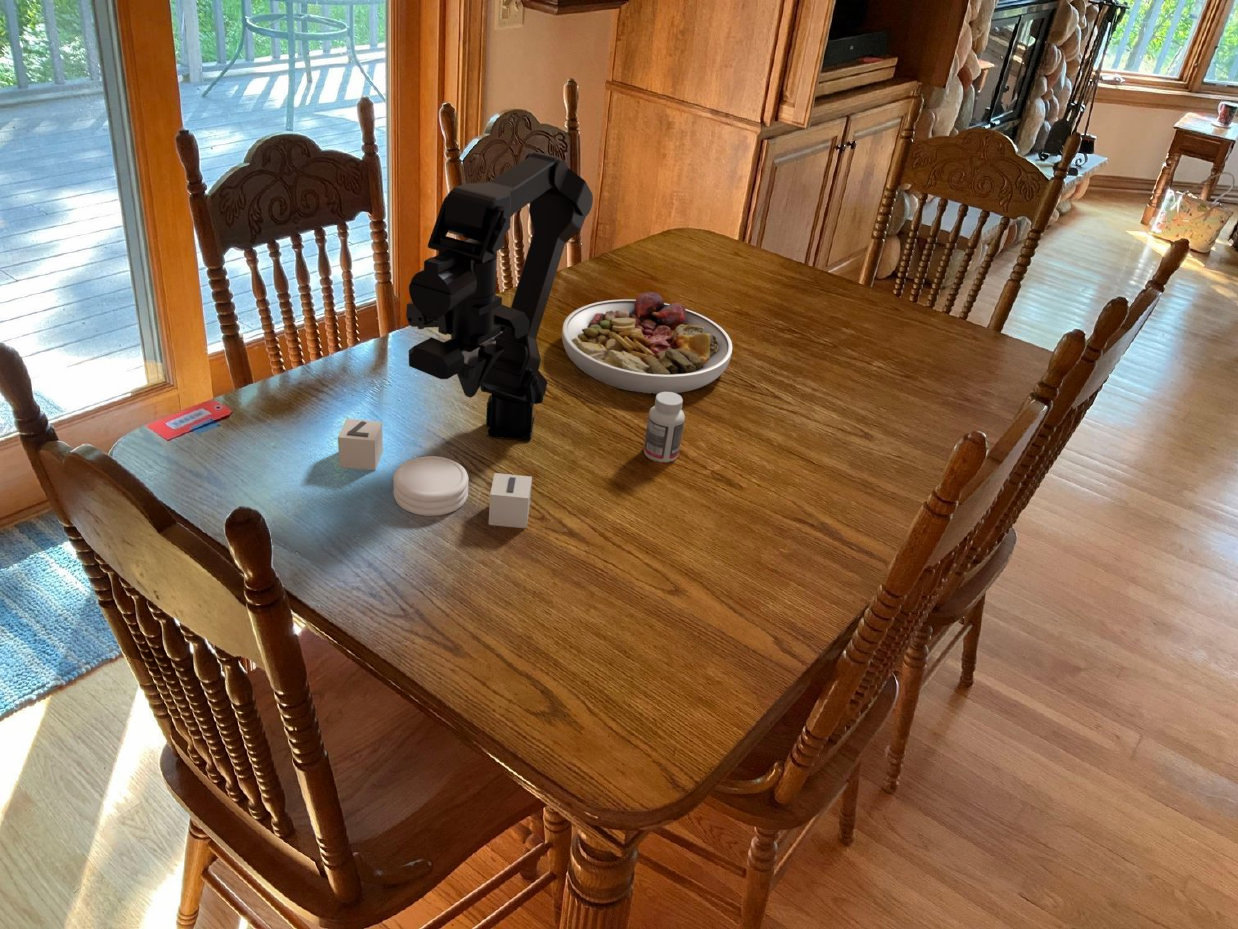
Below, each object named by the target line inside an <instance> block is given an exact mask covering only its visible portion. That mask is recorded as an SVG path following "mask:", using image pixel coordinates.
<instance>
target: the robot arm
mask: <svg viewBox="0 0 1238 929" xmlns="http://www.w3.org/2000/svg"><path fill="white" fill-rule="evenodd" d="M593 197H594V196H593V192H592V190H591V189H590V187H589V186H588V184H587V181H586V180H585V179H583V178H582V177H581V176H579V174H577V173H576V172H575V171H573V170H572V169H571V168H570V167H569V166H568V164H567V163H566V162H565V161H564V160H563V159H561V158H560V157H559V156H554V155H550V154H546V153H542V152H538V151H534V152H528V153H527V155H526V156H525V157H524V159H523V160H521V161H519V162H518V163H517V164H515V165H514V166H512V167H511V168H509V169H507V170H505V171H504V172H503V173H501V174H499V175H498V176H497V177H495V178H493V179H491V180H489V181H488V182H475V183H474V182H472V183H471V182H469V183H465V184H461V185H457V186H455V187H453V188H452V189H451V190H450V191H449V192H448V193H447V195H446V196H445V197H444V198H443V201H442V203H441V206H440V208H439V212H438V215H437V218H436V221H435V222H434V225H433V228H432V232H431V234H430V237H429V240H428V243H427V248H428V249H431V250H435V251H437V253H438V254H437V255H435V256H432V257H429V258H426V259H425V260H424V261H423V269H421V270H419V271H418V272H416V273H415V274H414V275H413V277H412V278H411V280H410V283H409V285H408V292H409V293H408V294H409V298H410V300H411V301H409V302H408V303H406V311H405V315H406V320H407V323H408V325H409V326H410V327H412V328H417V329H418V330H424V329H425V328H426V329H427V328H429V329H430V328H431V329H432V328H438V333H440V334H442V335H444V336H447V335H449V336H450V338H449V339H447V340H446V341H443V340H440V339H437V338H434V337H429V338H427V339H425V340H423V341H422V342H421V341H420V343H418V344H415V345H414V346H412V347H411V348H410V349H408V367H410V368H413V369H415V370H418V371H420V372H423V373H424V374H428V375H430V376H432V377H435V378H437V379H439V380H449V379H450V378H452V377H454V376H455V375H456V376H457V378H458V381H459V382H460V383H459V384H460V386H461V389H462V391H463V394H464V396H465V397H468V398H470V399H471V398H473V397H475V396H476V394H477V393H478V391H479V389H480V391H481V392H482V393H487V394H490V395H489V396H488V399H487V402H486V416H485V417H486V419H485V421H486V422H485V426H486V427H487V428H488V430H487V437H490V438H498V439H508V440H516V441H517V440H519V441H531V440H532V434H533V429H534V424H535V423H534V422H535V417H534V407H535V405H538V404H542V403H543V402H544V396H545V395H546V392H547V386H548V380H547V379H546V378H545V376H544V375H543V374H542V373H541V372H540V370H539V369H540V366H541V362H542V359H541V354H540V351H539V347H538V343H537V341H538V340H537V336H538V333H539V330H540V326H541V324H542V321H543V316H544V313H545V312H546V311H545V310H546V307H547V304H548V301H549V297H550V294H551V291H552V288H553V283H554V281H555V278H556V274H557V272H558V269H559V268H558V267H559V265H560V261H561V258H562V255H563V252H564V249H565V246H566V244H567V242H569V241H570V240H571V239H572V238H573V237H574V236H576V234H578V233H579V232H580V231H581V230H582V228H583V225H584V223H585V221H586V217H588V216H589V214H590V212H591V210H592V207H593V203H594V198H593ZM528 205H529V206H528ZM526 206H528V214H529V218H530V222H531V226H532V229H533V233H532V237H531V239H530V243H529V246H528V250H527V253H526V257H525V260H524V263H523V266H522V268H521V272H520V276H519V279H518V282H517V286H516V289H515V293H514V295H513V299H512V302H511V304H510V306H507V305H504V304H503V297H502V296H499V295H497V294H496V292H497V291H496V284H497V269H498V268H497V263H498V262H497V261H498V251H500V250H501V249H503V248H504V246H505V243H504V241H503V239H504V237H505V235H506V233H508V232H509V230H510V229H511V218H512V217H513V215H514V214H516V213H518V212H519V211H521V210H522V209H523V208H525V207H526ZM447 234H452V235H455V236H459V237H462V238H466V239H467V240H462V239H458V238H454V237H450V236H448V235H447Z"/></svg>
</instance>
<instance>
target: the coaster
mask: <svg viewBox="0 0 1238 929" xmlns="http://www.w3.org/2000/svg"><path fill="white" fill-rule="evenodd" d="M392 478H393V480H392V481H393V484H392V485H393V498H394V500H395V501H396V503H397V505H398V506H399V507H400V508H401V509H403V510H405V511H407V512H408V513H411V514H415V515H418V516H425V517H431V516H432V517H437V516H444V515H447V514H451V513H453V512H456V511H457V510H459V509H460V508H461V507H462V506H463V505H464V504H465V503H466V502H467V500H468V497H469V474H468V472H467V470H466V469H465V468H464V466H462V465H461V464H460V463H458V462H457V461H454V459H453V460H452V459H450V458H447V457H443V456H438V455H437V456H433V455H432V456H429V455H427V456H421V457H420V456H419V457H416V458H412V459H409V460H407V461H405V462H403V463H402V464H401V465H399V466H398V467H397V469H395V472H394V473H393V477H392Z"/></svg>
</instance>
